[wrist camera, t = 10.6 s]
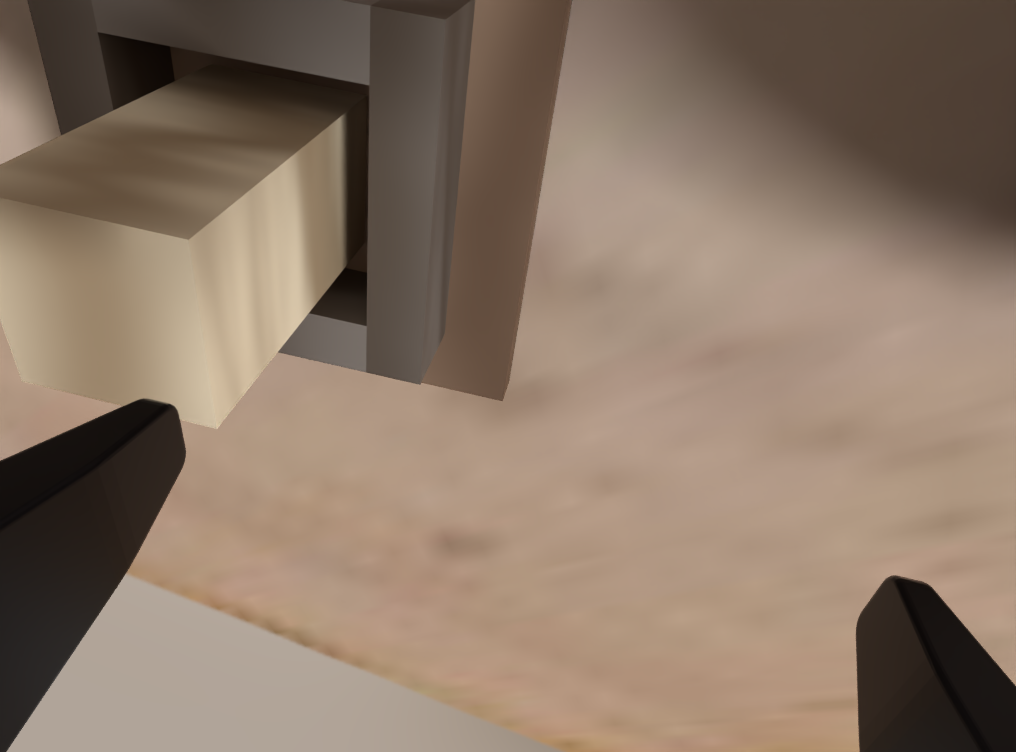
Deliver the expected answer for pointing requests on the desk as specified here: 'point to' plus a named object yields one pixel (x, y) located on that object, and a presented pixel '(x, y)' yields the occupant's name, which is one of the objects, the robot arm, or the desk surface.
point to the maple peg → (180, 238)
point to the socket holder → (372, 150)
